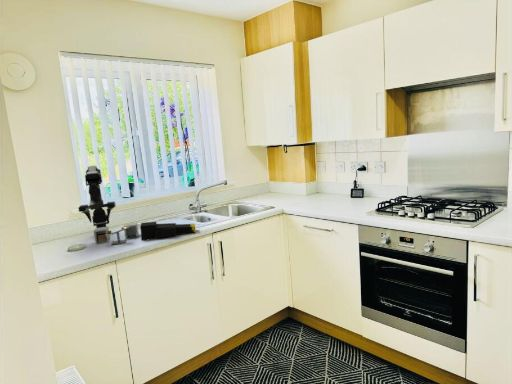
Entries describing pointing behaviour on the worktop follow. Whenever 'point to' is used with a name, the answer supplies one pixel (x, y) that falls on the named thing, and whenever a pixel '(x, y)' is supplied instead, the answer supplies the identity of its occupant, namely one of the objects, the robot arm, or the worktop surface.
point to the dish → (76, 247)
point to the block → (102, 237)
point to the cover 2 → (131, 230)
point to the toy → (164, 230)
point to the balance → (117, 236)
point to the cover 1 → (101, 231)
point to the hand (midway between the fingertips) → (99, 221)
